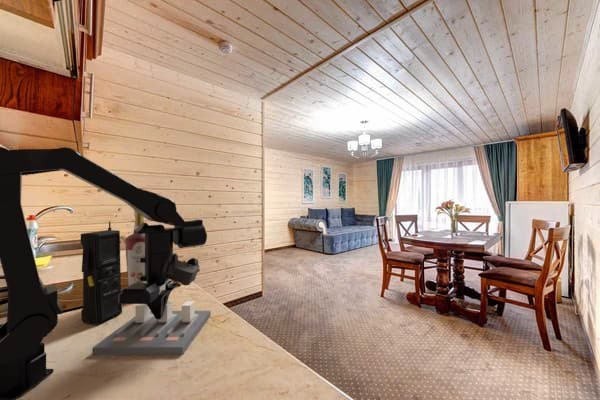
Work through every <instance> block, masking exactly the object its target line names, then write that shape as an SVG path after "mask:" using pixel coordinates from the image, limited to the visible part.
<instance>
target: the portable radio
mask: <svg viewBox="0 0 600 400" xmlns="http://www.w3.org/2000/svg"><path fill="white" fill-rule="evenodd" d="M111 222H112V221H111V220H110V221H108V228H107V229H106V230H99V231H91V232H84V233H81V234H80V245H82V262H81V273H82V290H83V291H82V309H81V310H80V311H81V315H80V316H81V319H80V320H81V322H83V324H91V325H100V324H102V323H104V322H106V321H108V320H110V319H112V318H115V317H116V316H119V315H121V314H122V313H123V304H119V293H120V292H121V291H122V280H121V276H122V275H121V271H122V270H121V232H120V230H118V229H117V230H113V229H112V227H111Z"/></svg>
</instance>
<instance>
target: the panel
mask: <svg viewBox="0 0 600 400" xmlns="http://www.w3.org/2000/svg"><path fill="white" fill-rule="evenodd" d="M211 313H212V312H211V310H194V319H193V320H192V321H191V322H182V310H172V318H171V319H170V320H169V321H168V322H159V319H156V318H155V317H154V315H153V313H152V312H151V310H150V318H149V319H148V320H146V321H145V322H144V323H135V316H134V317H132V318H131V319H129V320H128V321H126V322H125V323H124V324H123V325H121V326H120V327H118V328H117V329H116V330H114V331H113V332H111V333H110V334H109V335H107V336H106V337H105V338H104V339H102V340H101V341H99V342H98V343H97V344H95V345H93V346H92V348H91V350H92V353H91V354H92V356H113V355H114V356H134V355H135V356H140V355H141V356H143V355H144V356H145V355H146V356H149V355H150V356H152V355H153V356H154V355H155V356H156V355H160V356H161V355H164V356H165V355H170V356H171V355H175V356H176V355H184V353H186V351H187V350H188V348H189V346H191V344H192V343H193V341H194V340H195V339H196V337H197V336H198V334H199V333H200V332H201V330H202V329H203V328H204V326H205V325H206V323H207V322H208V320H209V319H210V318H211V316H212V315H211Z"/></svg>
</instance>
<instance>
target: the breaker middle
mask: <svg viewBox="0 0 600 400" xmlns="http://www.w3.org/2000/svg"><path fill="white" fill-rule="evenodd" d="M172 311H173V300H170V301H169V300H168V301H167V304H166V307H165V311H164V314H163V317H162V318H161V319H159V322H168V321H169V320H170V319H171V318H172Z"/></svg>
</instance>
